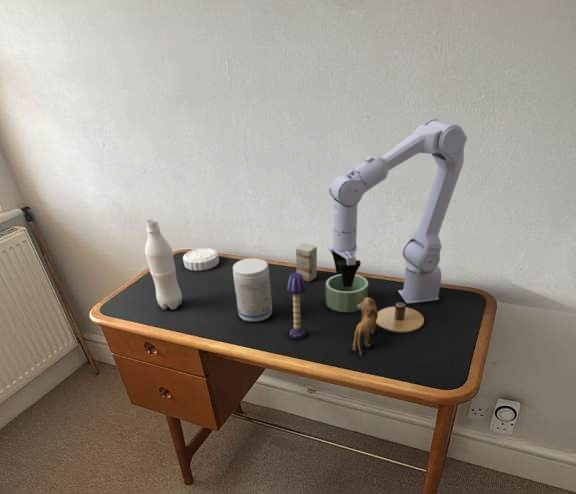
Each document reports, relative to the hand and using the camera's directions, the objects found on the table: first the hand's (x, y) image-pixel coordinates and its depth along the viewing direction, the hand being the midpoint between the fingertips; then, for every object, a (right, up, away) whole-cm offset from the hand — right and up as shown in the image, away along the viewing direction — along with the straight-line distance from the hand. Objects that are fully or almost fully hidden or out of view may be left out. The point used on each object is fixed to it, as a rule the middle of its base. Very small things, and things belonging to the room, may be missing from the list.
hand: (344, 279), depth 122 cm
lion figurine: (+4, -16, -5) cm, 18 cm away
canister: (+2, -5, +10) cm, 11 cm away
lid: (+15, -11, 0) cm, 18 cm away
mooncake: (-44, +14, +37) cm, 59 cm away
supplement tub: (-24, -8, +8) cm, 26 cm away
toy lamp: (-12, -15, -1) cm, 19 cm away
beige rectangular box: (-9, +6, +24) cm, 26 cm away
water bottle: (-49, -5, +15) cm, 51 cm away
